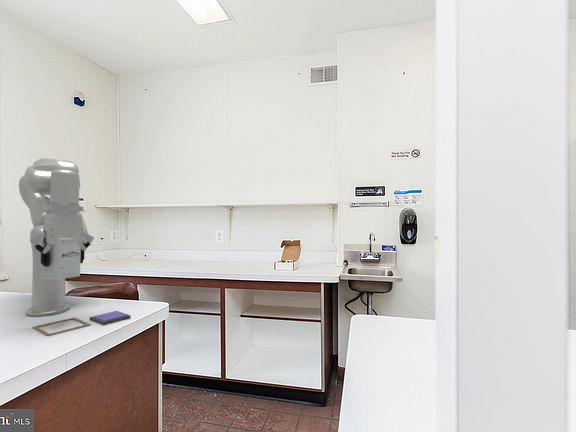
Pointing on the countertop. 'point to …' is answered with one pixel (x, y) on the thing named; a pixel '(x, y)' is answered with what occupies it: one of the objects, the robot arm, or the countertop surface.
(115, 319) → the ink pad
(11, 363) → the countertop surface
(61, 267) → the supplement box
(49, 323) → the tan picture frame
